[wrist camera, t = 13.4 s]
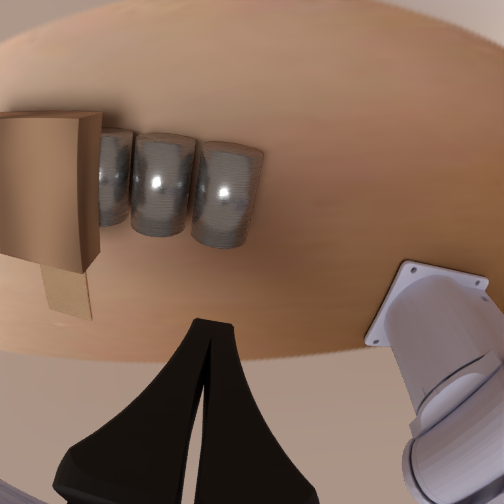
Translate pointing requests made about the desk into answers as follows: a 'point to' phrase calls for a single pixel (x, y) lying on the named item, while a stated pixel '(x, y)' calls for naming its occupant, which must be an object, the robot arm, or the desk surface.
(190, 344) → the robot arm
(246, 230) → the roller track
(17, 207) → the slab
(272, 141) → the desk surface
